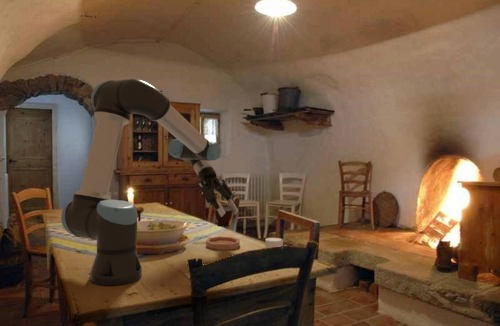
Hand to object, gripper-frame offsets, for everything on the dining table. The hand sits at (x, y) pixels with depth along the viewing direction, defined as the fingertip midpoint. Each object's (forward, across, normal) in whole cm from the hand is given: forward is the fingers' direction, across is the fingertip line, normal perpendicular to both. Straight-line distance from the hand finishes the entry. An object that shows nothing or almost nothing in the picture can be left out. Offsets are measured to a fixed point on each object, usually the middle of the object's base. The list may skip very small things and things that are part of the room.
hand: (229, 213), depth 158 cm
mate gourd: (+1, 0, -7) cm, 7 cm away
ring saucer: (+7, 0, -12) cm, 14 cm away
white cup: (+25, -2, +6) cm, 26 cm away
